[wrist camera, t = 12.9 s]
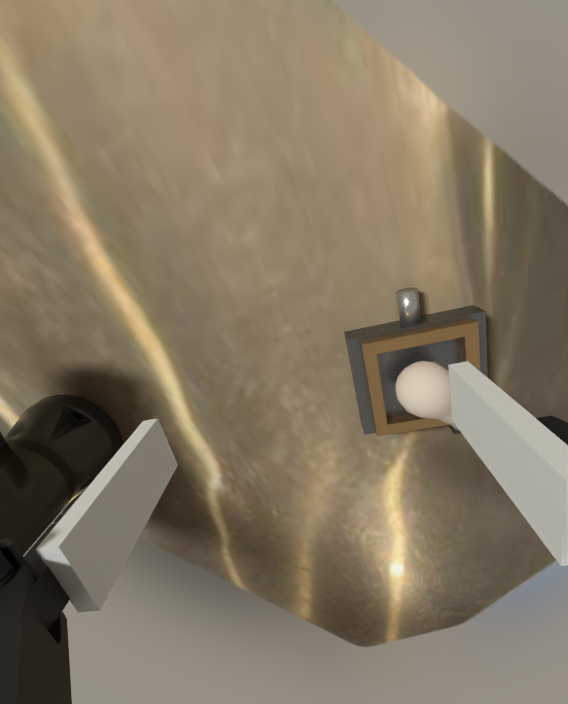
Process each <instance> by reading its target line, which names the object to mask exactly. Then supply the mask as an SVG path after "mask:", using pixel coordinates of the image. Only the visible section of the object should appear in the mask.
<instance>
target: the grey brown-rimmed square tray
mask: <svg viewBox="0 0 568 704" xmlns="http://www.w3.org/2000/svg"><path fill="white" fill-rule="evenodd" d="M396 293H397V301H398V309H399V317H400V321H395V322H390V323H386V324H381V325H376V326H371V327H366V328H361V329H357V330H352V331H347V332H344V333H345V338H346V344H347V349H348V354H349V360H350V365H351V370H352V376H353V381H354V387H355V392H356V397H357V403H358V408H359V413H360V419H361V423H362V427H363V431H364V434H371V433H376V434H377V436H382V435H388V434H395V433H401V432H407V431H414V430H420V429H426V428H432V427H439V426H445V425H449V427H450V428H451V430H452V431H453V432H454V434H459V433H461V432H460V431H459V430H457V429H455V428H454V427H452V426H451V425H450V424H447V423H444V422H442V421H440V420H438V419H431V418H421V417H418V416H415V415H413V414H411V413H409V412H407V411H406V409H405V408H404V407H403V406H402V405H401V403H400V402H399V401H398V399H397V395H396V387H395V384H396V381H397V378H398V376H399V375H400V373H401V372H402V371H403V370H404V369H405V368H406V367H407V366H409V365H411V364H413V363H415V362H419V361H428V362H436V363H437V364H439V365H441V366H443V367H444V368H446V369H447V370H448V371H449V367H448V365H450V364H455V363H461V362H466V361H468V362H469V363H471V364H472V365H473V366H474V367H475V368H476V369H478V370H479V371H480V372H481V373H482V374H484V375H485V376H486V377H487V378H488V371H487V339H486V311H484V310H482V309H480V308H478V307H476V306H474V305H473V306H468V307H463V308H458V309H453V310H448V311H444V312H439V313H434V314H429V315H424V316H421V315H420V305H419V295H418V288H405V289H401V290H399V291H397V292H396Z"/></svg>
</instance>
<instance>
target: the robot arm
mask: <svg viewBox="0 0 568 704" xmlns="http://www.w3.org/2000/svg"><path fill="white" fill-rule="evenodd" d="M448 367H449V380H450V393H451V407H452V420H453V422H454V424H455V425H456V426H457V428H458V429H459V430H460V432H461V433H462V434H463V436H464V437H465V438H466V440H467V441H468V442H469V444H470V445H471V446H472V448H473V449H474V450H475V452H476V453H477V454H478V456H479V457H480V458H481V460H482V461H483V462H484V464H485V465H486V466H487V468H488V469H489V470H490V472H491V473H492V474H493V476H494V477H495V478H496V480H497V481H498V483H499V484H500V485H501V487H502V488H503V489H504V491H505V492H506V493H507V495H508V496H509V497H510V499H511V500H512V501H513V503H514V504H515V505H516V507H517V508H518V509H519V511H520V512H521V513H522V515H523V516H524V517H525V519H526V520H527V521H528V523H529V524H530V525H531V527H532V528H533V529H534V531H535V532H536V533H537V535H538V536H539V537H540V539H541V540H542V541H543V543H544V544H545V545H546V547H547V548H548V550H549V551H550V552H551V554H552V555H553V556H554V558H555V559H556V560H557V562H558V563H559V564H560V566H568V423H567V422H565V421H563V420H560V419H558V418H556V417H553V416H547V417H540V418H535V417H533V416H532V415H531V414H530V413H529V412H528V411H526V410H525V409H524V408H523V407H522V406H520V405H519V404H518V403H517V402H516V401H514V400H513V399H512V398H511V397H510V396H509V395H507V394H506V393H505V392H504V391H503V390H501V389H500V388H499V387H498V386H497V385H495V384H494V383H493V382H492V381H491V380H490V379H488V378H487V377H486V376H485V375H484V374H482V373H481V372H480V371H479V370H478V369H476V368H475V367H474V366H473V365H472V364H471V363H469V362H468V361H466V362H461V363H455V364H450V365H448ZM177 466H178V464H177V462H176V459H175V457H174V455H173V452H172V450H171V448H170V445H169V443H168V441H167V438H166V436H165V434H164V431H163V429H162V427H161V424H160V422H159V420H158V418H157V419H151V420H146V421H143V422H142V423H141V424H140V425H139V426H138V428H137V429H136V430H135V431H134V432H133V434H132V435H131V436H130V437H129V438H128V440H127V441H126V442H125V443H124V444H123V446H122V441H121V437H120V434H119V431H118V429H117V427H116V426H115V424H114V423H113V421H112V420H111V419H110V417H109V416H108V415H107V414H106V413H105V412H104V411H102V410H101V409H100V408H98V407H97V406H96V405H94V404H92V403H90V402H88V401H86V400H84V399H81V398H78V397H74V396H69V395H54V396H50V397H46V398H44V399H42V400H40V401H39V402H37V403H36V404H34V405H33V406H31V407H30V408H28V409H27V410H26V411H25V412H24V413H23V414H22V415H21V417H20V418H19V420H18V421H17V422H16V424H15V425H14V426H13V428H12V429H11V430H10V432H9V433H8V435H7V436H6V437H5V439H4V437H3V435H2V434H1V432H0V704H72V701H71V700H72V699H71V683H70V665H69V648H68V631H67V619H66V617H65V615H64V613H63V612H62V611H63V609H64V607H65V605H66V604H67V603H68V601H69V600H70V601H71V603H72V604H73V605H74V607H75V608H76V610H77V611H78V612H85V611H96V610H100V609H101V607H102V605H103V603H104V602H105V600H106V598H107V596H108V594H109V592H110V590H111V589H112V587H113V585H114V583H115V581H116V579H117V577H118V575H119V574H120V572H121V570H122V568H123V566H124V564H125V563H126V561H127V559H128V557H129V555H130V553H131V551H132V550H133V547H134V546H135V544H136V542H137V540H138V538H139V537H140V535H141V533H142V531H143V529H144V527H145V525H146V523H147V522H148V520H149V518H150V516H151V514H152V512H153V510H154V509H155V507H156V505H157V503H158V501H159V499H160V497H161V496H162V494H163V492H164V490H165V488H166V486H167V484H168V483H169V481H170V479H171V477H172V475H173V473H174V471H175V470H176V468H177ZM83 490H84V491H83ZM82 491H83V492H82ZM80 492H82V493H81V494H79V493H80ZM77 494H79V495H78V496H77V497H76V498H74V499H73V500H72V501H71V502H70V503H69V505H68V506H67V507H66V508H65V509H64V511H63V512H62V514H61V515H59V516H58V518H57V519H56V520H55V521H54V524H52V525H51V526H50V527H49V528H48V529H47V530H46V532H45V533H44V534H43V535H42V536H41V538H40V539H39V540H38V541H37V542H36V543H35V544H34V546H33V547H32V548H31V549H30V550H29V552H28V553H27V554H26V555H25V556H24V557H23V555H24V554H25V552H27V550H28V549H29V548H30V547H31V546H32V544H33V543H34V542H35V541H36V540H37V539H38V537H39V536H40V535H41V534H42V533H43V532H44V530H45V529H46V528H47V527H48V526H49V525H50V523H51V522H52V521H53V520H54V519H55V518H56V516H57V515H58V514H59V513H60V512H61V510H62V509H63V508H64V507H65V506H66V504H67V503H68V502H69V501H70V500H71V499H72V498H73V497H74V496H75V495H77Z"/></svg>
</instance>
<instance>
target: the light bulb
mask: <svg viewBox="0 0 568 704" xmlns="http://www.w3.org/2000/svg"><path fill="white" fill-rule="evenodd" d="M395 387H396V395H397V399H398V401H399V402H400V403H401V405H402V406H403V407H404V408H405V409H406V411H407V412H409V413H411V414H413V415H415V416H418V417H421V418H431V419H438V420H440V421H442V422H444V423H447V424H450V425H451V426H452V427H454V428H455V429H457V430H459V429H458V428H457V426H456V425H455V424H454V422H453V420H452V407H451V393H450V380H449V371H448V370H447V369H446V368H444V367H443V366H441V365H439V364H437V363H436V362H428V361H419V362H415V363H413V364H411V365H409V366H407V367H406V368H405V369H404V370H403V371H402V372H401V373H400V375H399V376H398V378H397V381H396V384H395ZM459 431H460V430H459Z"/></svg>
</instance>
